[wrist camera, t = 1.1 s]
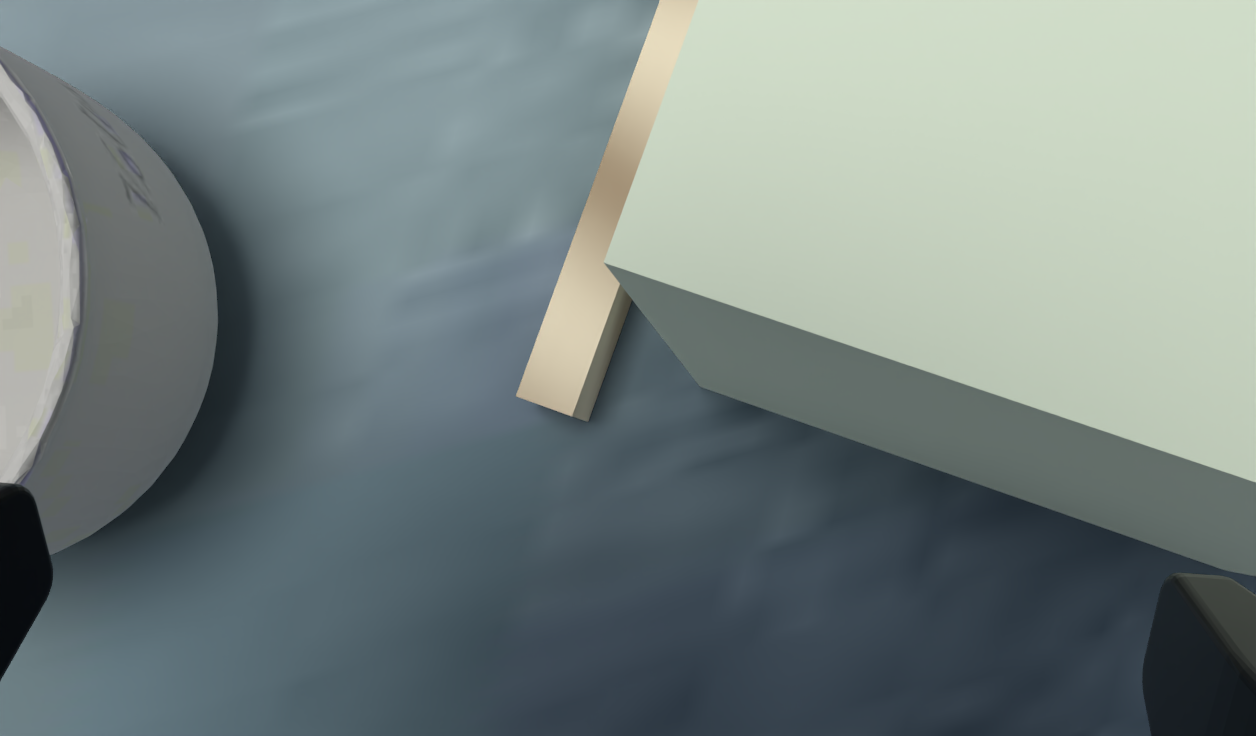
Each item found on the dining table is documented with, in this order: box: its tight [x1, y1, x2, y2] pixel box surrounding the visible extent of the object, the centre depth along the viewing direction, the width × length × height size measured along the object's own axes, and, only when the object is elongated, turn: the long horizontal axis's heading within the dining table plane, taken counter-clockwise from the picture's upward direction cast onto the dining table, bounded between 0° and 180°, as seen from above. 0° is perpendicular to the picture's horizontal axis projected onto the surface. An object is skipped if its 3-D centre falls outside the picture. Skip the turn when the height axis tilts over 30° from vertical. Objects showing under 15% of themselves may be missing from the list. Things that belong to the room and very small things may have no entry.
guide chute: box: [516, 0, 698, 422], centre depth 22 cm, size 21×17×4 cm
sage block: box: [604, 0, 1256, 576], centre depth 17 cm, size 10×11×14 cm
